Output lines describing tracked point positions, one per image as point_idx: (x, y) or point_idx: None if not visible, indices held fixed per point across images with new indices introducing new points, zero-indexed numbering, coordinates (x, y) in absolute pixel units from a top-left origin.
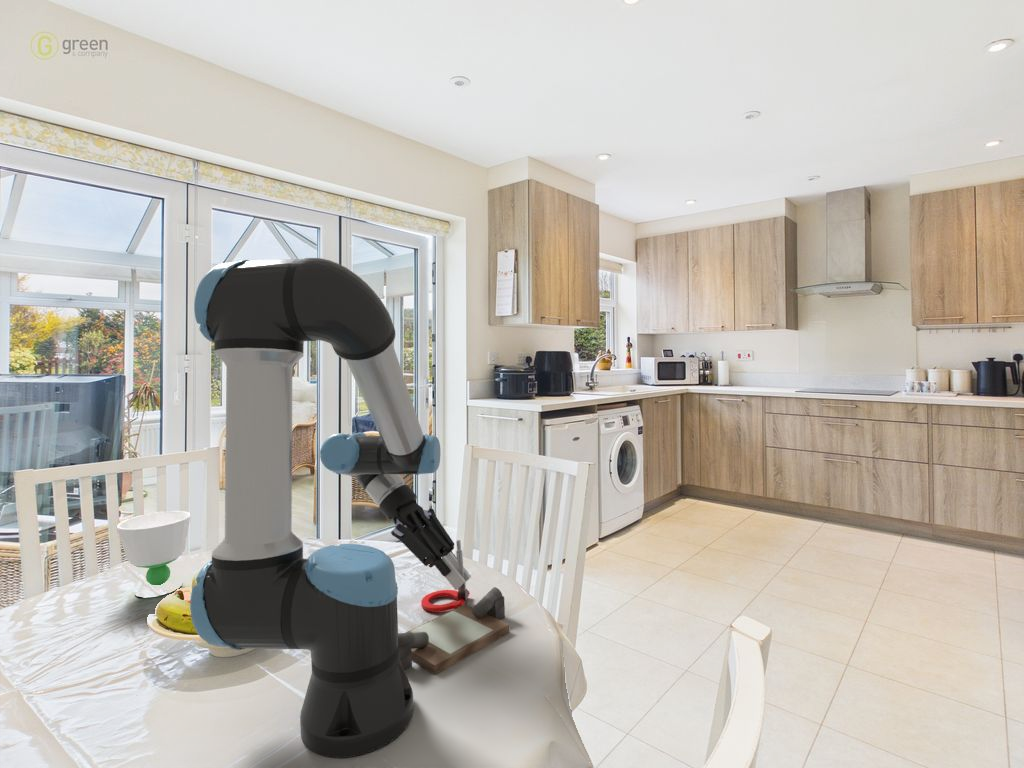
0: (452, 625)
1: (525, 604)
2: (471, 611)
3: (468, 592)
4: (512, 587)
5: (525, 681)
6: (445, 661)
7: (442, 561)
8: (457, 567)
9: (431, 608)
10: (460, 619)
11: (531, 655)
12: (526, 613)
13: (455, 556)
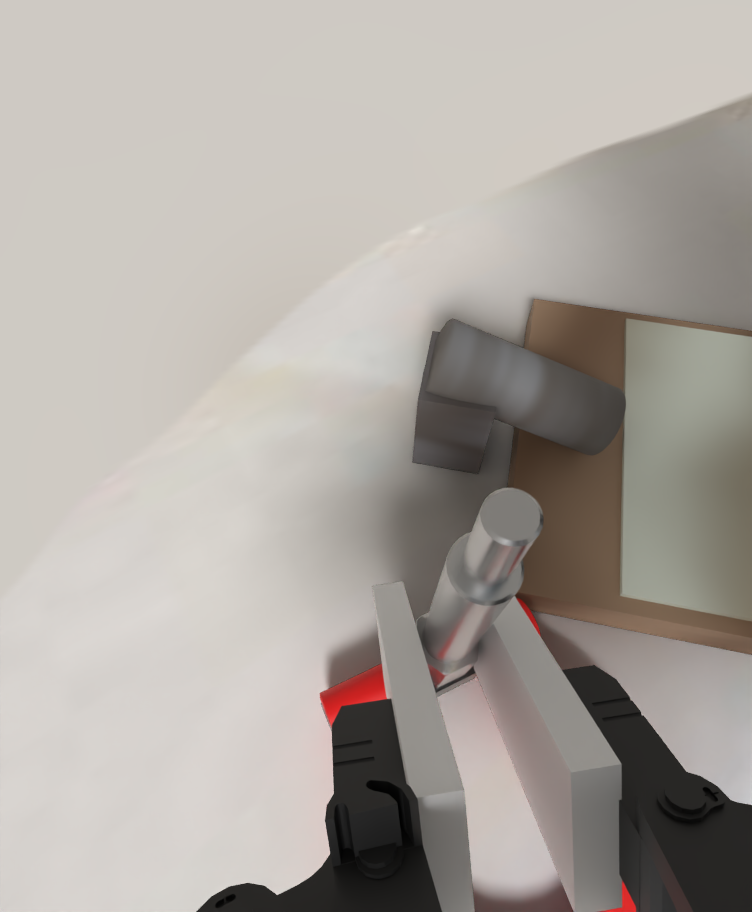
0: (741, 491)
1: (260, 384)
2: (548, 503)
3: (338, 685)
4: (84, 536)
5: (728, 171)
6: None
7: (622, 767)
8: (480, 638)
9: None
10: (666, 492)
11: (603, 209)
12: (341, 343)
13: (337, 782)
